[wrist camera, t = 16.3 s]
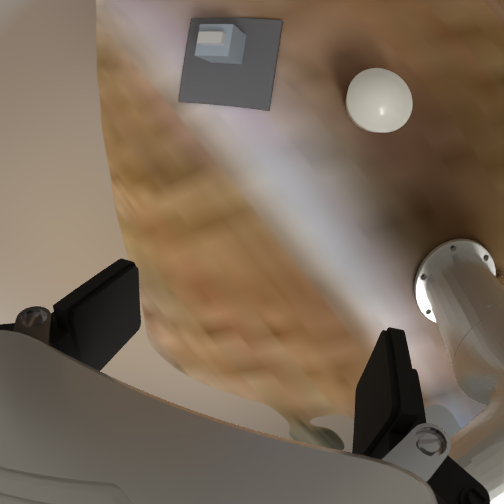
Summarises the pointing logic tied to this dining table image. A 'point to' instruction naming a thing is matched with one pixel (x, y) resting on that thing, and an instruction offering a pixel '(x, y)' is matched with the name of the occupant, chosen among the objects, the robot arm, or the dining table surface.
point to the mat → (234, 67)
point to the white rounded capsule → (378, 101)
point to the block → (220, 43)
